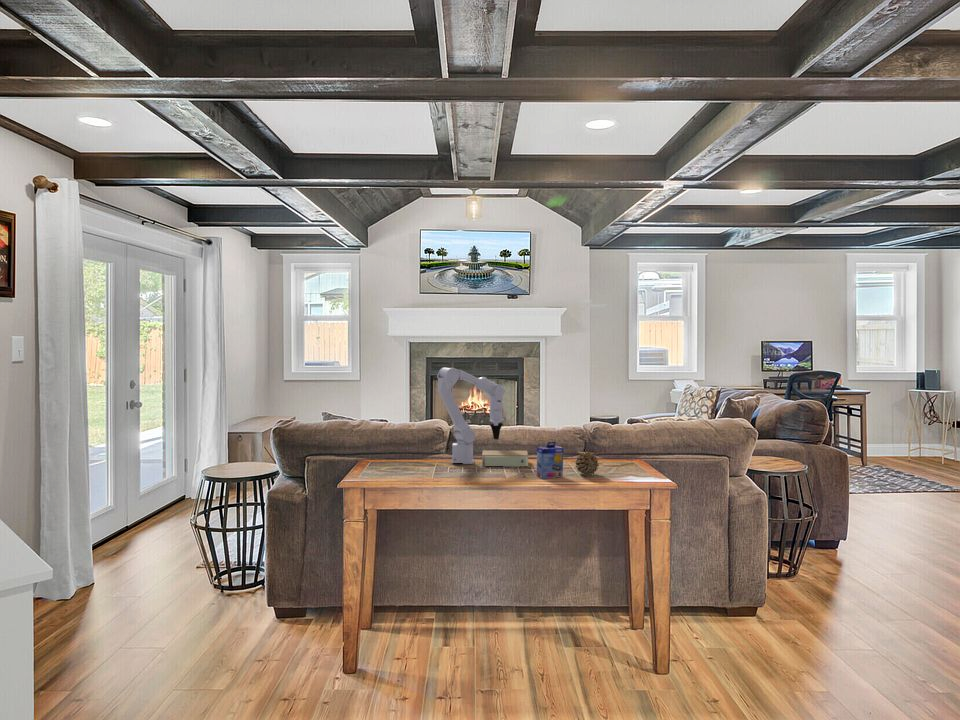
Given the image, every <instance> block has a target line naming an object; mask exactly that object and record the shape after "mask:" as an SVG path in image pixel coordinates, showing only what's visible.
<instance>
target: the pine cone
mask: <svg viewBox="0 0 960 720" xmlns="http://www.w3.org/2000/svg"><path fill="white" fill-rule="evenodd" d="M575 459H576V460H575V461H574V465H575V468H576V469H577V472H579V473H581V474H582V475H584V476H585V474H586V475H587V476H590V475H594V474H595V473H596V472H597V470H599V468H598V467H600V463H599V458H597V455H596V454H594V453H593V452H588V451H584V452H583V451H581V453H579V456H577V457H576V458H575Z"/></svg>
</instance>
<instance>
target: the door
mask: <svg viewBox="0 0 960 720" xmlns="http://www.w3.org/2000/svg"><path fill="white" fill-rule="evenodd" d="M486 466H526V456H484V457H483V466H482V467H486Z"/></svg>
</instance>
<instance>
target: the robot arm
mask: <svg viewBox="0 0 960 720" xmlns="http://www.w3.org/2000/svg"><path fill="white" fill-rule="evenodd" d="M436 377H437V392H438V395H439V396H440V399H441V400H442V403H443V405H444V407H445V409H446V411H447V413H448V415H449V417H450V419H451V422H452V423H453V431H454V438H455V439H456V442H453V443H452V445H451V446H452V448H451V450H452V452H451V454H452V455H451V460H452V461H451V462H452V463H463V464H462V465H474V463H475V459H474V441H475V439H476V432H475V431H474V430H473V429H472V428H471V426H470V425H469V423H467V422H466V420H465V417H464V415H463V413H462V411H461V410H460V408H459V405H458V403H457V401H456V399H455V397H454V395H453V392H452V389H453V387H454V385H455V384H456V383H457V382H458V381H462V380H463V381H465V382H467V383H470V384H472V385H474V386H475V388H476V390H477V389H478V391H479V390H480V391H482V392H484V393H486V394H488V395H489V422H491V423H490V424H489V427H490V429H491V431H492V436H493V440H500V439H499V438H500V433H501V429H502V426H503V423H502V422H506V418H503V396H504V394H505V392H506V390H505V389H504V387H503V385H502V384H500V383H499V384H498V383H496V381H495V380H489V379H488V378H487V377H486V376H481V377H477V376H475V375H472V374H470V373H468V372H466V371H464V370H462V369H457V368H455V367H447V366H446V367H445V366H443V367H442V368H440V369H439V371H438V373H437V375H436Z"/></svg>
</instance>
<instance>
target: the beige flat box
mask: <svg viewBox="0 0 960 720" xmlns="http://www.w3.org/2000/svg"><path fill="white" fill-rule="evenodd" d="M528 454H529V453H528V450H496V449H495V450H488V449H487V450H486V449H485V450H482V453H481V461H482V462H481V467H484V466H483V457H484V456H526V466H528V467H529V455H528ZM503 467H506V468H507V467H508V468H509V467H511V468H512V467H516V468H520V466H503ZM522 467H523V466H522ZM523 468H524V467H523Z"/></svg>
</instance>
